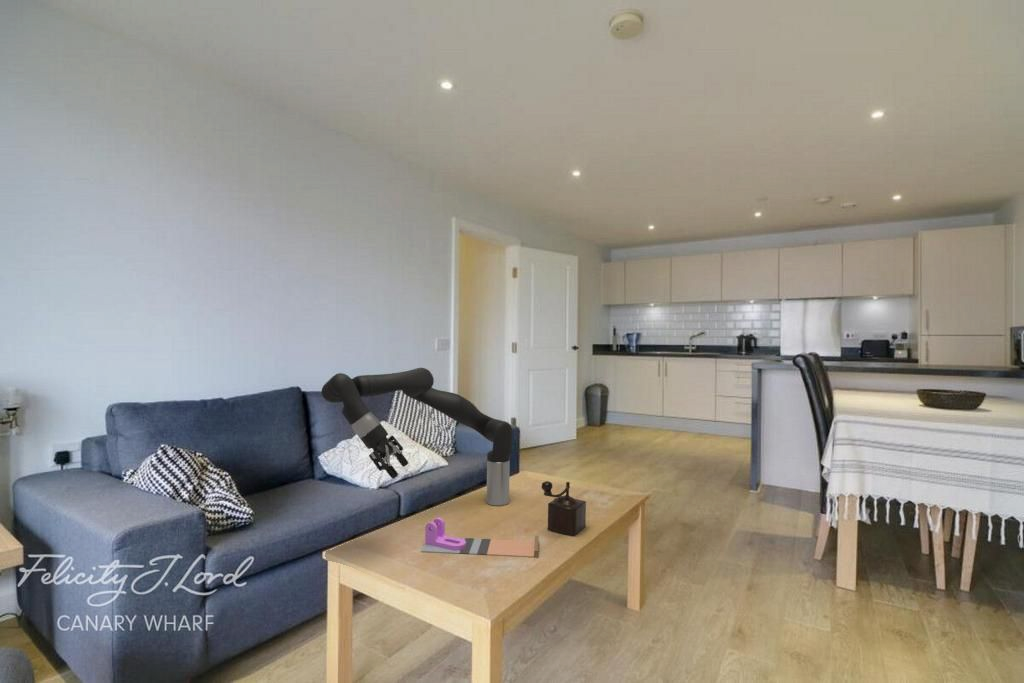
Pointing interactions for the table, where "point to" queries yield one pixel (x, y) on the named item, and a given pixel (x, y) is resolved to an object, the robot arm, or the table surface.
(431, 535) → the bracket
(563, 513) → the manual coffee grinder
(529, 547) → the lane
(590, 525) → the table surface
